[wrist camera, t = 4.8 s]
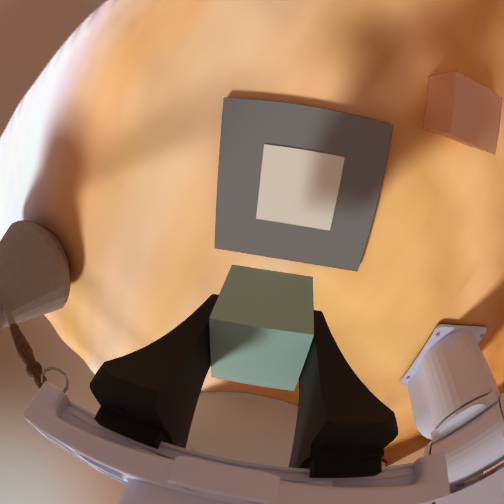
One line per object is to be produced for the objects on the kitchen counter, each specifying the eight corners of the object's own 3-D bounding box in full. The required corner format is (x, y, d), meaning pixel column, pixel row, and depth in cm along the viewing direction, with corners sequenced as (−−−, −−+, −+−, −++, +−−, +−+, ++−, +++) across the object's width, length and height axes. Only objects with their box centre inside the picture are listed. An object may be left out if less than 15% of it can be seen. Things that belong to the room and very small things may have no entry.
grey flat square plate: (356, 267, 20) (357, 272, 20) (216, 244, 21) (214, 248, 21) (390, 124, 15) (393, 125, 14) (226, 98, 16) (223, 97, 15)
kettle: (142, 397, 37) (90, 508, 18) (243, 361, 28) (188, 564, 8) (244, 456, 44) (222, 549, 24) (348, 436, 34) (341, 559, 15)
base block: (298, 334, 15) (294, 391, 12) (229, 323, 16) (211, 377, 12) (312, 276, 13) (314, 334, 10) (232, 264, 14) (209, 317, 10)
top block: (464, 144, 14) (495, 154, 11) (422, 128, 15) (449, 133, 11) (470, 96, 12) (501, 97, 9) (428, 76, 13) (455, 70, 9)
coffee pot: (40, 289, 30) (-24, 357, 17) (13, 213, 24) (-70, 273, 11) (165, 313, 26) (93, 440, 13) (139, 203, 21) (-4, 319, 8)
